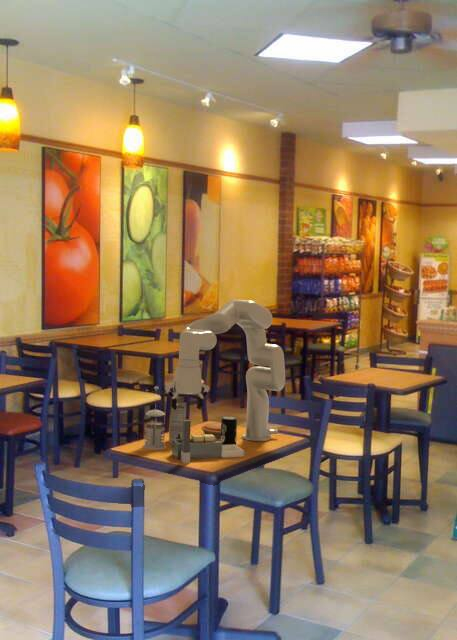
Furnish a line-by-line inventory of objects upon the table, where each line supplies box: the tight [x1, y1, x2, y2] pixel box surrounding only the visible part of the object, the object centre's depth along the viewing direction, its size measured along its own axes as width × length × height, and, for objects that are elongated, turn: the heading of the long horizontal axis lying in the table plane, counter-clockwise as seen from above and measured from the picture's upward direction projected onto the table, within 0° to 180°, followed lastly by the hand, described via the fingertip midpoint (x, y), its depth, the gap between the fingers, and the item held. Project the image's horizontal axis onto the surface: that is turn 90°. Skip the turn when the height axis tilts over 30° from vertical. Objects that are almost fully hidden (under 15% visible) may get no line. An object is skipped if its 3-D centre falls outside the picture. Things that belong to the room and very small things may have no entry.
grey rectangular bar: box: [180, 419, 192, 464], centre depth 292 cm, size 2×4×16 cm, turn 19°
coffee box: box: [168, 402, 188, 445], centre depth 325 cm, size 9×6×16 cm
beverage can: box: [220, 415, 238, 445], centre depth 321 cm, size 7×7×12 cm
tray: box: [221, 444, 245, 459], centre depth 307 cm, size 9×11×2 cm
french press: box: [142, 385, 167, 451], centre depth 313 cm, size 10×12×25 cm
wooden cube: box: [201, 433, 215, 442], centre depth 304 cm, size 4×4×4 cm
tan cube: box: [190, 434, 204, 443], centre depth 302 cm, size 4×4×4 cm
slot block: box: [171, 438, 222, 460], centre depth 302 cm, size 18×8×6 cm, turn 109°
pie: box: [200, 422, 221, 440], centre depth 340 cm, size 15×16×5 cm
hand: (186, 408), depth 291 cm, fingers open, 9 cm apart
